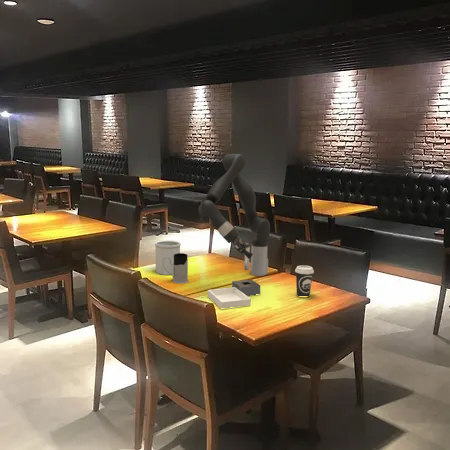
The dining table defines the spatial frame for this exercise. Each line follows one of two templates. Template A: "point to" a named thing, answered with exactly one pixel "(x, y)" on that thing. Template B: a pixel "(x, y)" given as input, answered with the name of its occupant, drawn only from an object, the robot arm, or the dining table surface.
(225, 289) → the plastic tray
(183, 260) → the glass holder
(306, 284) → the coffee cup
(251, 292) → the bracket
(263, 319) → the dining table surface
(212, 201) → the robot arm
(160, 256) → the utensil holder
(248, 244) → the steel pin
